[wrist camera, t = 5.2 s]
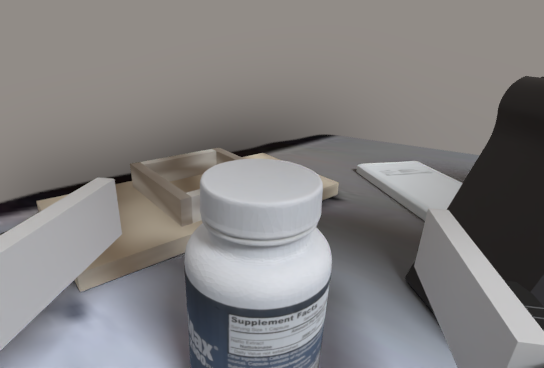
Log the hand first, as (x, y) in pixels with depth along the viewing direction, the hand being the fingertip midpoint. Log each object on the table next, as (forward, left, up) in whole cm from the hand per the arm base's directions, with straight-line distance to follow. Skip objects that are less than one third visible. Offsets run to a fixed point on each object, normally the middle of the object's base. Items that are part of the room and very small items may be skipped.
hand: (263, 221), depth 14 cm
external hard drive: (-13, -20, -7) cm, 25 cm away
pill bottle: (0, +2, -6) cm, 7 cm away
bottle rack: (+7, -13, -6) cm, 16 cm away
